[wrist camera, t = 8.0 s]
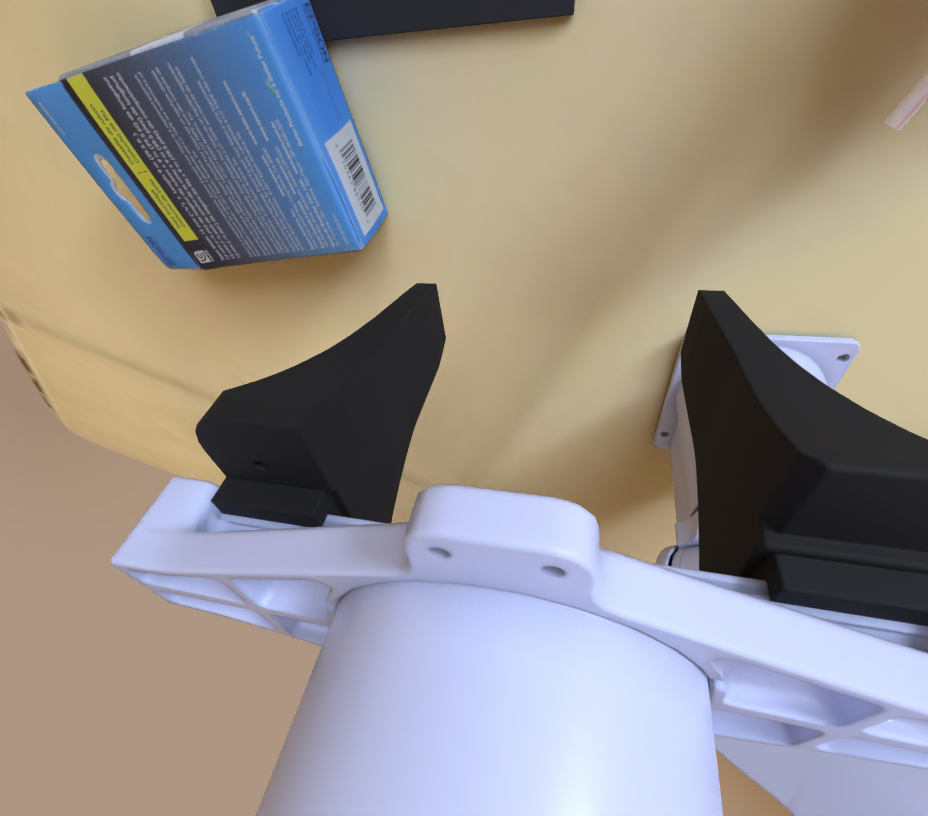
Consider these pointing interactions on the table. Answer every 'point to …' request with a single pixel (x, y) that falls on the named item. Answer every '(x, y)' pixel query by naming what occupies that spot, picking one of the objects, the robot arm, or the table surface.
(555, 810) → the robot arm
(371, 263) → the table surface
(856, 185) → the table surface
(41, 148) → the table surface
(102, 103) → the label tape box
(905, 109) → the smoothie
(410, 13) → the mat
